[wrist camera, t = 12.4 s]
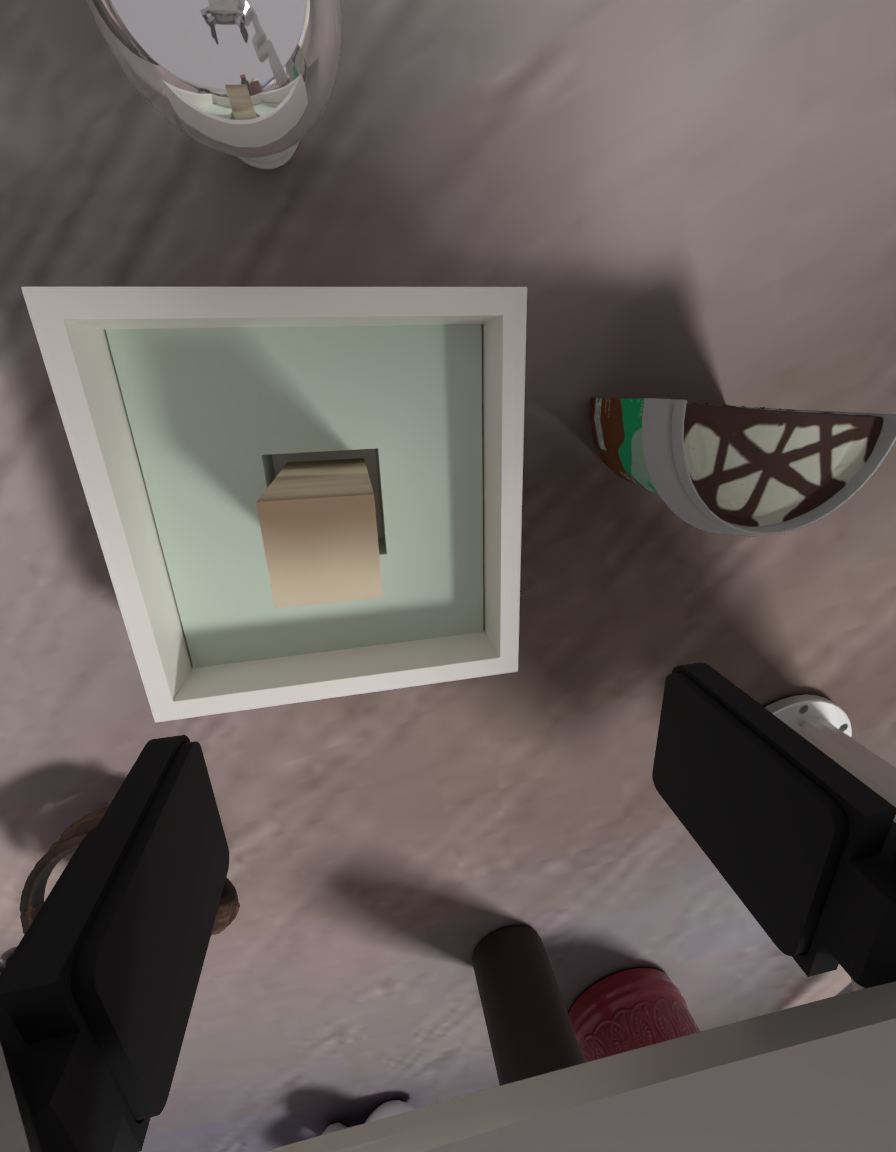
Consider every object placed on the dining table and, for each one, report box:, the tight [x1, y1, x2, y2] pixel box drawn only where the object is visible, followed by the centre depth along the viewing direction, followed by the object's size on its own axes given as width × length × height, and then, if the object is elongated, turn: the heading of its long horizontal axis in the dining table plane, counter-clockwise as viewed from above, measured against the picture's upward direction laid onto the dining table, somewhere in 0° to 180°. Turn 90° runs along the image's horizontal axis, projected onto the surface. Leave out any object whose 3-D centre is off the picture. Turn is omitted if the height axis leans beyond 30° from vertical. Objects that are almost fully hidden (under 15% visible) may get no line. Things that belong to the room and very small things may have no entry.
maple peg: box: [256, 458, 383, 608], centre depth 22 cm, size 4×4×10 cm
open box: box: [21, 287, 527, 722], centre depth 24 cm, size 18×18×7 cm
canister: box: [568, 968, 700, 1062], centre depth 45 cm, size 13×13×18 cm
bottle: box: [473, 926, 586, 1086], centre depth 36 cm, size 7×7×20 cm
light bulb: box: [86, 0, 343, 169], centre depth 16 cm, size 7×7×12 cm
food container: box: [589, 397, 896, 537], centre depth 26 cm, size 12×6×10 cm, turn 87°
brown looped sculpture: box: [20, 806, 240, 935], centre depth 32 cm, size 12×10×8 cm
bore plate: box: [105, 324, 483, 668], centre depth 25 cm, size 16×16×3 cm
